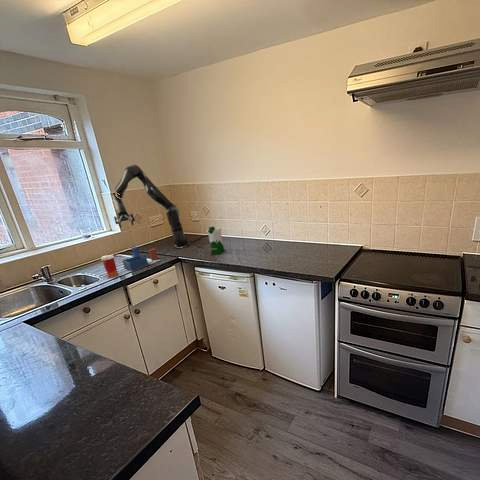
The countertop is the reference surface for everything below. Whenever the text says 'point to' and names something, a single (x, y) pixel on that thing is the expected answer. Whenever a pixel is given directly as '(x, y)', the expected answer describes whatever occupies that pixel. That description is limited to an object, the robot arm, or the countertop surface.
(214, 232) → the milk carton
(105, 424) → the countertop surface
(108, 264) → the beer glass
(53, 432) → the countertop surface
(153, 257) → the terracotta skittle
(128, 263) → the blue bin
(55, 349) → the countertop surface
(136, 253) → the blue skittle
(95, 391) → the countertop surface
